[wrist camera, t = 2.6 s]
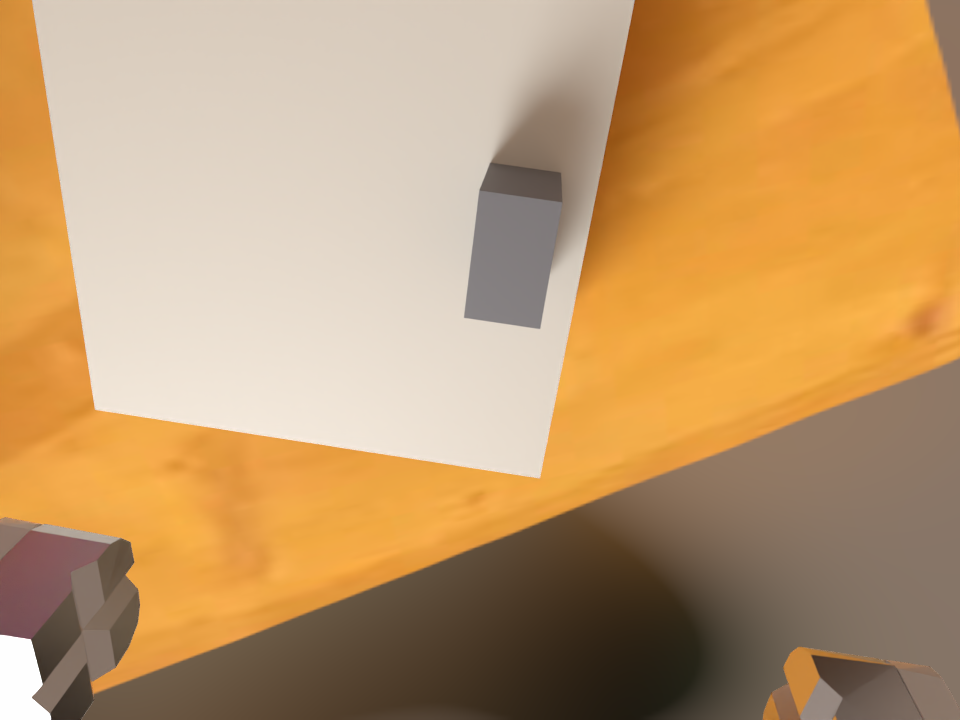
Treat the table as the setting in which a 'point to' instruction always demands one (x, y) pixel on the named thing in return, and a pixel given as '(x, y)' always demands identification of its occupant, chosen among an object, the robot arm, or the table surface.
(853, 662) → the robot arm
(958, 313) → the table surface
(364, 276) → the lid
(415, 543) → the table surface
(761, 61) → the table surface
